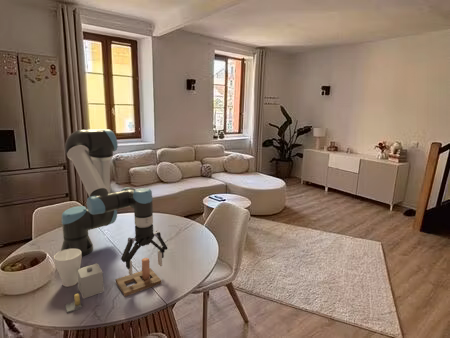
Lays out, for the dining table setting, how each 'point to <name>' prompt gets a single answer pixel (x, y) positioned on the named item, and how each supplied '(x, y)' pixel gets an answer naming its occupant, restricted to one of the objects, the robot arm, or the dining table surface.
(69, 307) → the pad
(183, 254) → the dining table surface
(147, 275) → the peg
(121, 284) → the board
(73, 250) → the cup
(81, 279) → the block
